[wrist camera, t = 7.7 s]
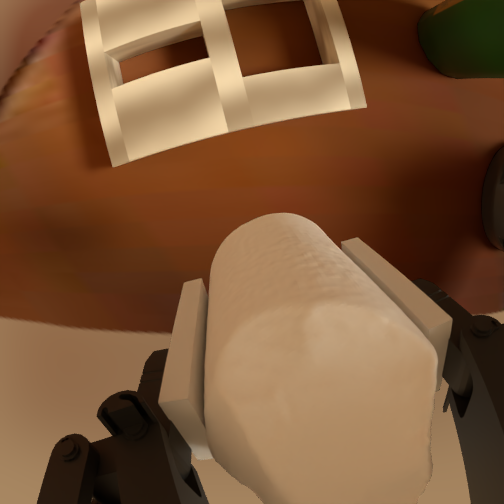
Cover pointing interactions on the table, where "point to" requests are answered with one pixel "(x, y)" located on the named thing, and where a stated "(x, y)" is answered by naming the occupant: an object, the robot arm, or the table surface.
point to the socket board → (205, 74)
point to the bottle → (465, 38)
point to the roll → (313, 373)
